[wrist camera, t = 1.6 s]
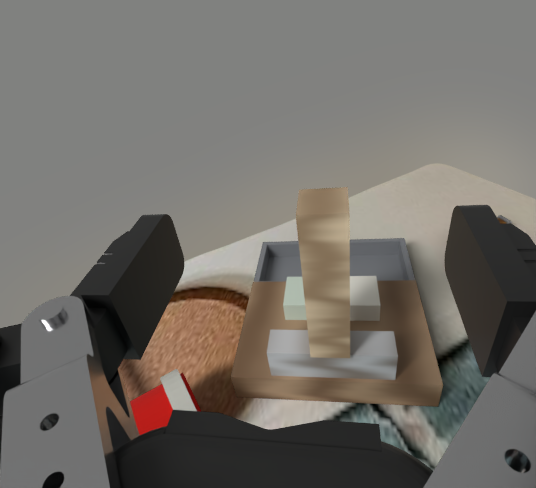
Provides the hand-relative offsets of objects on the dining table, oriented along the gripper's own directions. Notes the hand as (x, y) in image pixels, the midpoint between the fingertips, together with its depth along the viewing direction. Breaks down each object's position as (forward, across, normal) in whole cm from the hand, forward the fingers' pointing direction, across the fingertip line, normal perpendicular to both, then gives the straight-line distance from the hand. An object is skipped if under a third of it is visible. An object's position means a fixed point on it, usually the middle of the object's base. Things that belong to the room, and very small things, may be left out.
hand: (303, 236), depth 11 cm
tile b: (+18, +2, +21) cm, 28 cm away
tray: (+26, 0, +24) cm, 35 cm away
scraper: (+11, 0, +21) cm, 24 cm away
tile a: (+18, -2, +21) cm, 28 cm away
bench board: (+16, 0, +24) cm, 29 cm away
